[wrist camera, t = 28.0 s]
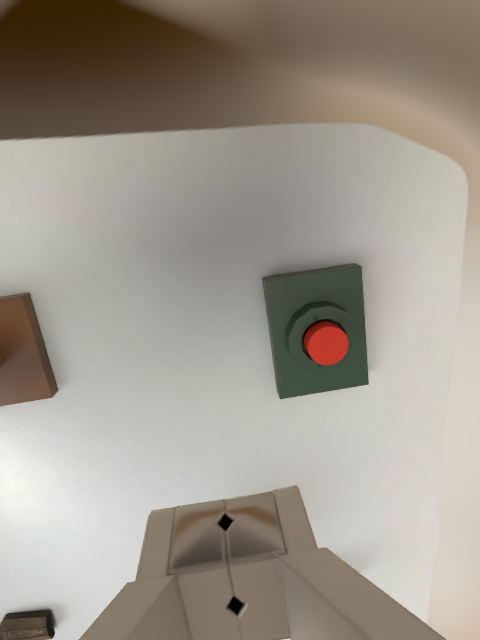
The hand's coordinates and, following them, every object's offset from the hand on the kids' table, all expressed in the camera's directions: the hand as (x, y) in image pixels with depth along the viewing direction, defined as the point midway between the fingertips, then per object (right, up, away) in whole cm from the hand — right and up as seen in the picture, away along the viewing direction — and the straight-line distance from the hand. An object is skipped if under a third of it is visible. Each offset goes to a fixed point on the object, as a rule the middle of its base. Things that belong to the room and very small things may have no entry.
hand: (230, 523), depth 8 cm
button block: (+8, +3, +32) cm, 33 cm away
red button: (+8, +2, +29) cm, 30 cm away
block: (-25, -31, +39) cm, 56 cm away
